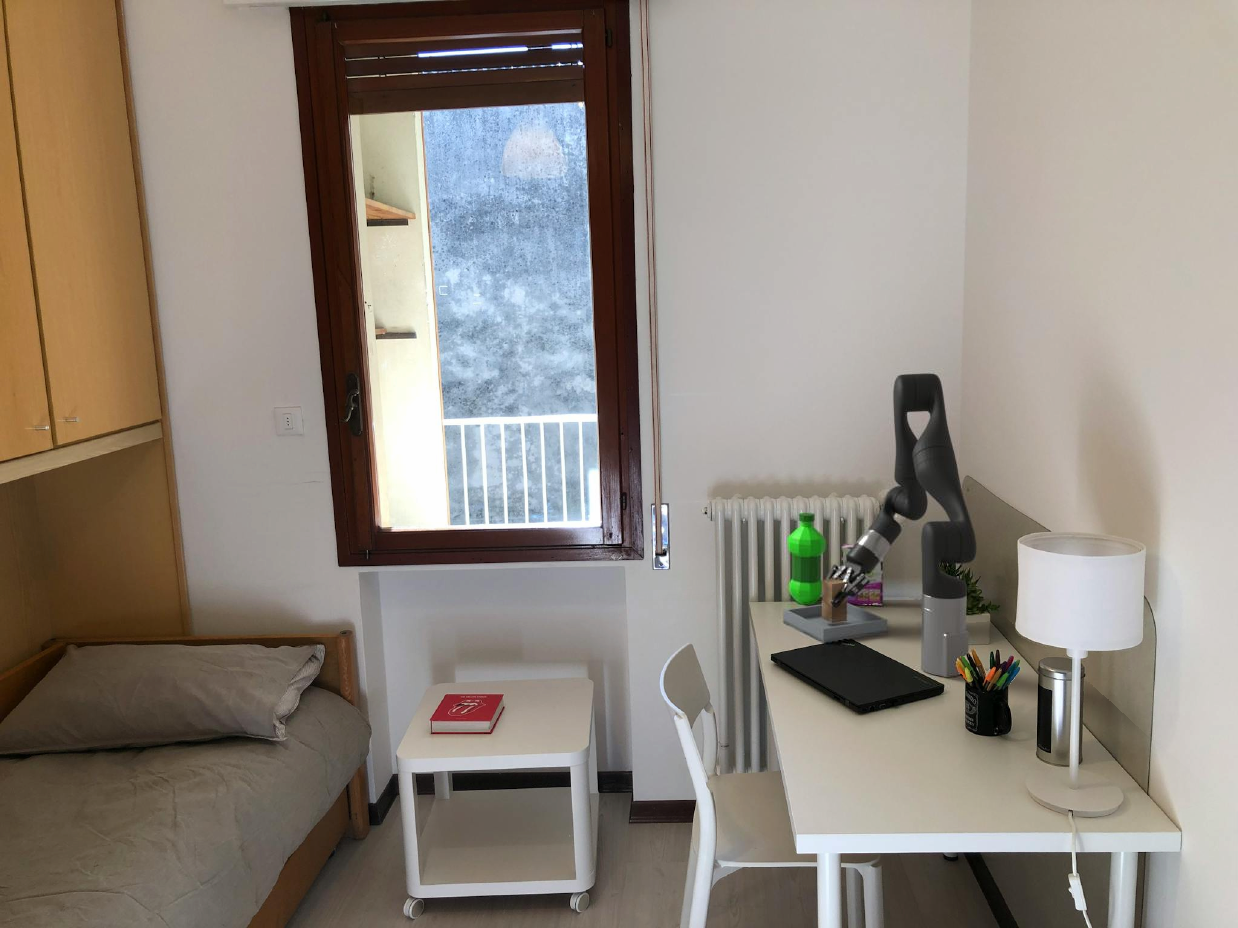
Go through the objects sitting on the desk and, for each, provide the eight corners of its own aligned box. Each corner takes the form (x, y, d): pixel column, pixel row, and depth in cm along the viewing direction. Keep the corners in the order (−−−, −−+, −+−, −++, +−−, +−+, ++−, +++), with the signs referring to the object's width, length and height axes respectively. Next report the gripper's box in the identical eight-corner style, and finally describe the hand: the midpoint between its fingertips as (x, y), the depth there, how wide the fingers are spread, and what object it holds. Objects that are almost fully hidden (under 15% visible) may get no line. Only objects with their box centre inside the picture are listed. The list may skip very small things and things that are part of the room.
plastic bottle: (792, 607, 259) (792, 518, 256) (785, 597, 270) (785, 511, 266) (828, 606, 259) (829, 517, 256) (819, 596, 270) (820, 510, 266)
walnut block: (846, 620, 238) (847, 582, 237) (831, 622, 237) (831, 584, 235) (836, 616, 242) (836, 578, 241) (821, 618, 241) (821, 580, 239)
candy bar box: (883, 602, 262) (884, 544, 260) (882, 606, 258) (883, 548, 255) (842, 599, 266) (842, 542, 264) (841, 604, 261) (841, 546, 259)
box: (887, 633, 234) (887, 619, 234) (823, 643, 228) (823, 629, 227) (843, 614, 252) (843, 601, 251) (783, 622, 245) (783, 609, 244)
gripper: (843, 537, 246) (803, 587, 243) (876, 547, 233) (835, 600, 230) (860, 555, 249) (820, 604, 246) (894, 566, 236) (853, 619, 233)
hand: (828, 602), depth 238 cm, fingers closed on walnut block, 4 cm apart
